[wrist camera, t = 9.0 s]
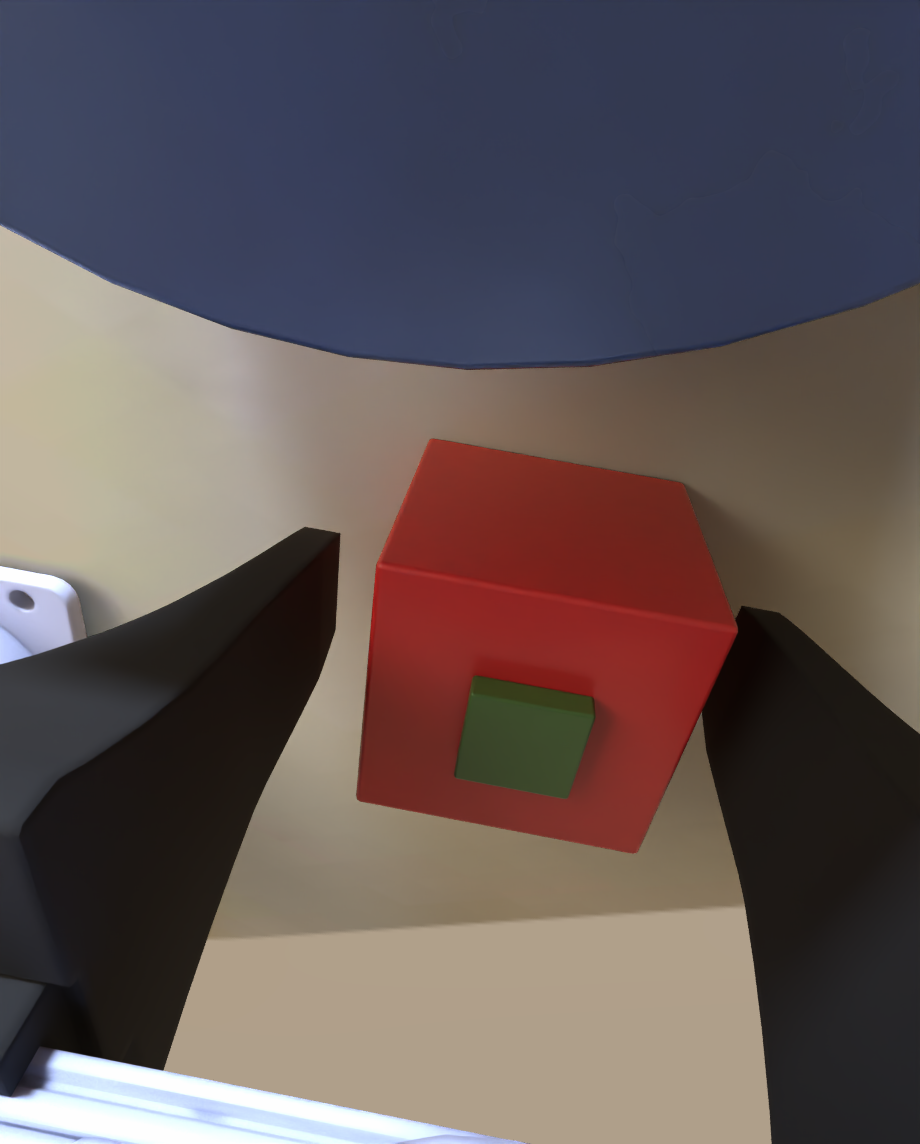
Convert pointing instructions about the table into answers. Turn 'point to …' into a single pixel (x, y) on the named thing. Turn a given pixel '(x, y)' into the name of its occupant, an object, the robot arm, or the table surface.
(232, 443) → the table surface
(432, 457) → the block
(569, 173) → the pot lid
